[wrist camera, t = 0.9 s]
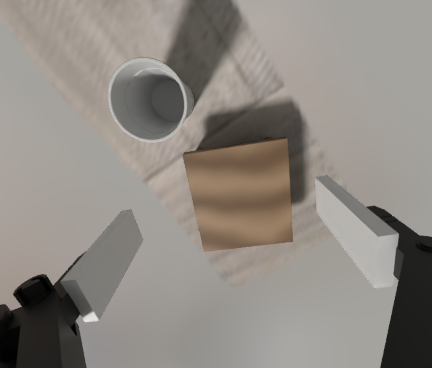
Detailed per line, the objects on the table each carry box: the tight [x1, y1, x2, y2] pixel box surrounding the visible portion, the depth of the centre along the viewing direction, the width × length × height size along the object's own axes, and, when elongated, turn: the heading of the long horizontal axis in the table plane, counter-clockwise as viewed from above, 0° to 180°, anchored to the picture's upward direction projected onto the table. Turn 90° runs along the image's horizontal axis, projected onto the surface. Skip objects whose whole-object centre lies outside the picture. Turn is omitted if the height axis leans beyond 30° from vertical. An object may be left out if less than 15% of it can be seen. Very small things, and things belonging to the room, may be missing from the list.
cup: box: [108, 57, 194, 142], centre depth 28 cm, size 8×8×12 cm
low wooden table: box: [183, 137, 293, 252], centre depth 35 cm, size 16×14×6 cm
